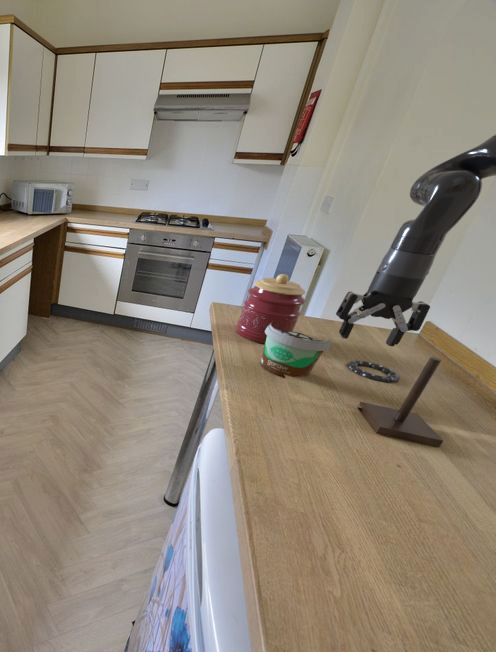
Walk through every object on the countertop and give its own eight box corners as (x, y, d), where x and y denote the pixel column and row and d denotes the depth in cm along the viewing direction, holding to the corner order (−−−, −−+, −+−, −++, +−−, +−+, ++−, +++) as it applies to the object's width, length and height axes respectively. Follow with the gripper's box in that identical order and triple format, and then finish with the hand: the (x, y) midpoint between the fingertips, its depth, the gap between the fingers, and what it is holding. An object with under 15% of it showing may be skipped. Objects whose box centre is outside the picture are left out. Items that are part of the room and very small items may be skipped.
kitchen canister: (263, 348, 106) (288, 282, 98) (224, 328, 117) (243, 268, 109) (300, 343, 110) (327, 280, 102) (259, 324, 121) (280, 266, 113)
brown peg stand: (413, 419, 79) (454, 353, 73) (439, 447, 72) (487, 376, 66) (357, 407, 82) (391, 343, 76) (376, 433, 75) (416, 364, 68)
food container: (246, 367, 96) (261, 328, 92) (254, 359, 100) (268, 321, 96) (309, 389, 88) (328, 347, 84) (315, 379, 92) (333, 339, 88)
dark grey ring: (386, 371, 98) (389, 364, 97) (404, 389, 90) (409, 382, 89) (339, 362, 100) (342, 356, 100) (354, 380, 93) (357, 373, 92)
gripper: (435, 272, 87) (397, 341, 94) (353, 262, 91) (323, 328, 98) (455, 282, 80) (413, 354, 88) (367, 271, 85) (334, 340, 92)
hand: (365, 341), depth 93 cm, fingers open, 8 cm apart
